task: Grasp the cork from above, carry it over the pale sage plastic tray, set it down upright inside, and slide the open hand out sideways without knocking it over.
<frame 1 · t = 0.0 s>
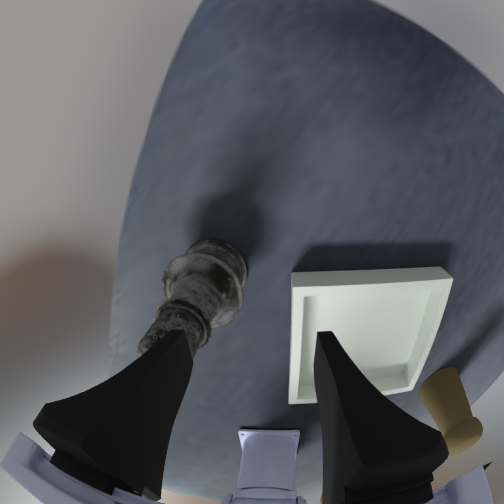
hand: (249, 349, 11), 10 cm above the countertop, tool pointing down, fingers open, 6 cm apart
tray: (362, 335, 23), on the countertop
gray chess piece: (214, 269, 22), on the countertop, touching gripper
cork: (437, 382, 25), on the countertop
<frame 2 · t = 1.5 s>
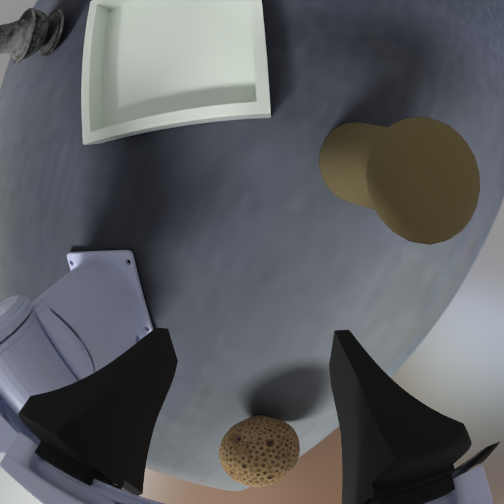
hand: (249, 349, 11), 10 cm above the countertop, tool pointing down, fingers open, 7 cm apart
tray: (172, 46, 15), on the countertop
gray chess piece: (52, 32, 13), point 1 cm above the countertop
cork: (358, 162, 18), on the countertop
natural sponge: (262, 413, 29), on the countertop
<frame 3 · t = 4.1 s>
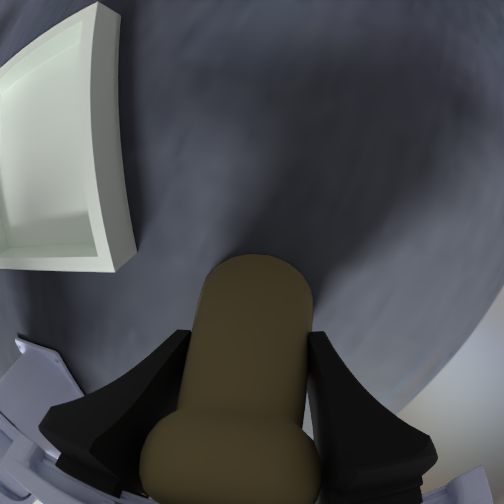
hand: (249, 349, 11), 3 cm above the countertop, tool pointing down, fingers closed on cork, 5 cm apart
tray: (37, 153, 12), on the countertop
cork: (256, 304, 14), on the countertop, touching gripper
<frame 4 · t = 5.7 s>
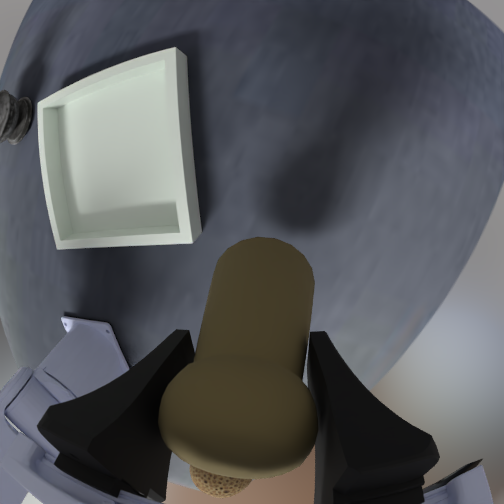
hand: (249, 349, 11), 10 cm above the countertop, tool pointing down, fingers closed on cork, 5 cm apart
tray: (113, 156, 19), on the countertop
gray chess piece: (19, 120, 17), on the countertop
cork: (263, 283, 16), point 5 cm above the countertop, touching gripper
natural sponge: (228, 439, 32), on the countertop
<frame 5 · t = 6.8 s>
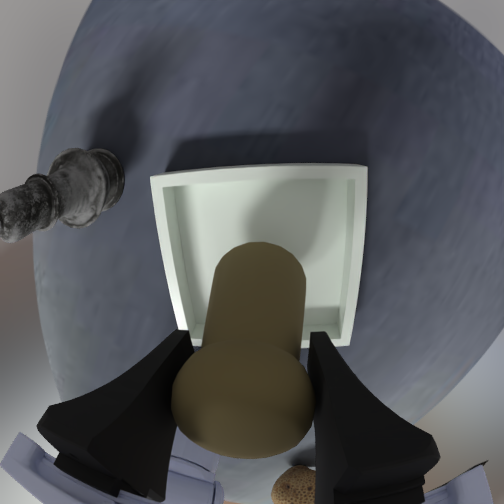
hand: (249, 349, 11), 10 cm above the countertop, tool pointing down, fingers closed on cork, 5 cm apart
tray: (263, 257, 20), on the countertop
gray chess piece: (98, 179, 19), on the countertop
cork: (259, 285, 17), point 3 cm above the countertop, touching gripper
natural sponge: (300, 463, 34), on the countertop
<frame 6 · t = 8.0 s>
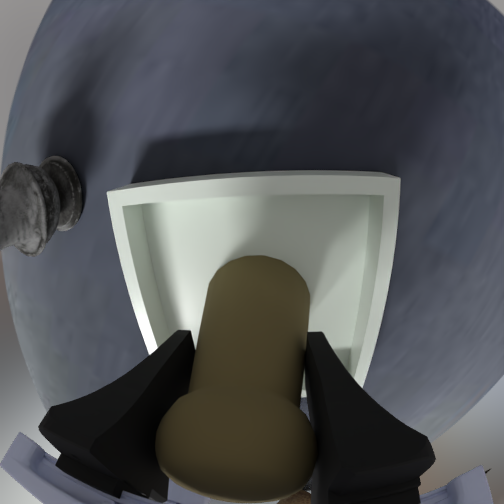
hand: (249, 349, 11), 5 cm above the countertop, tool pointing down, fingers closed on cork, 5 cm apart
tray: (257, 292, 16), on the countertop
gray chess piece: (58, 193, 14), on the countertop
cork: (258, 301, 16), resting on tray, touching gripper
natural sponge: (299, 488, 29), on the countertop
when the fingers open (5 cm above the countertop, at t = 8.4 s): cork stays where it is, resting on tray.
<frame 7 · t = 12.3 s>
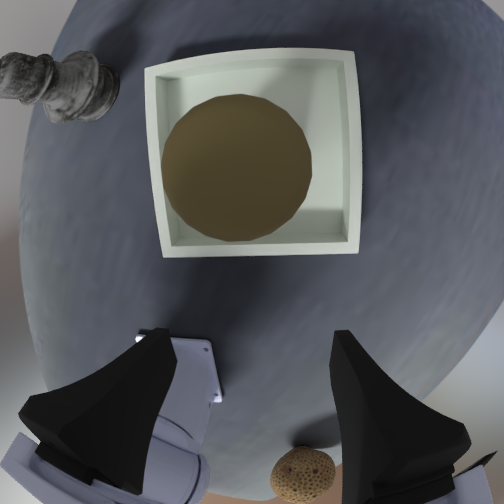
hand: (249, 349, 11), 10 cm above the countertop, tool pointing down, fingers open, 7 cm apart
tray: (255, 150, 18), on the countertop
gray chess piece: (94, 92, 17), on the countertop
cork: (255, 157, 18), resting on tray
natural sponge: (302, 444, 31), on the countertop
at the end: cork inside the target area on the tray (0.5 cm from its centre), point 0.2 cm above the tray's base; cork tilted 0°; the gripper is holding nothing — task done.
